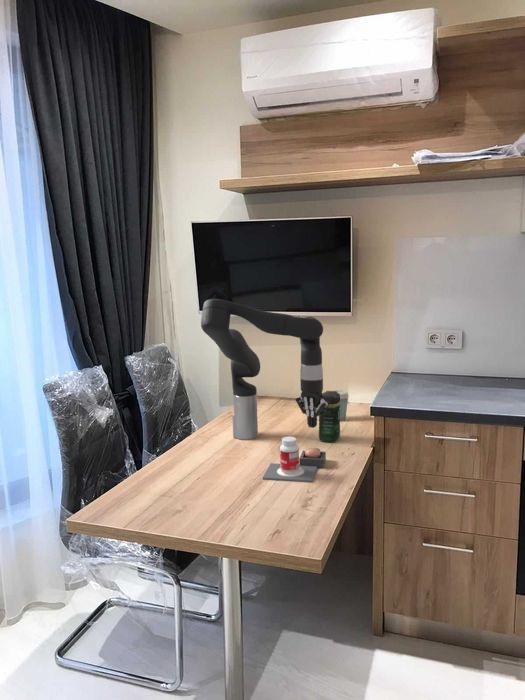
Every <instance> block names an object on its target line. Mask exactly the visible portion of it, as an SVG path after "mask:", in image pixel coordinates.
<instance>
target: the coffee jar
mask: <svg viewBox="0 0 525 700" xmlns="http://www.w3.org/2000/svg"><path fill="white" fill-rule="evenodd" d="M322 395H323V399H324V400H325V401H326V402H329V405H328V407H327V408H326V409H325V411H324V412H323V414H322V415H319V416H318V440H319V441H322V442H325V443H333V442H335V443H336V442H337V441H339V439H340V438H341V421H340V394H339V393H337V392H336V391H335V390H326V391H324V392H322ZM319 407H320V404H319Z"/></svg>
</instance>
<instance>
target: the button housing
mask: <svg viewBox="0 0 525 700" xmlns="http://www.w3.org/2000/svg"><path fill="white" fill-rule="evenodd" d="M326 458H327V452H326V451H322V450H320V457H318V458H308V457H306V456H305V450H302V452H301V454H300V455H299V465H304V466H317V469H324V466H325V463H326V460H327V459H326Z"/></svg>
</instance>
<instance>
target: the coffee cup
mask: <svg viewBox="0 0 525 700" xmlns="http://www.w3.org/2000/svg"><path fill="white" fill-rule="evenodd" d="M334 391H336V392H337V393H339V394H340V422H343V421H346V420H345V419H347V418H346V417H347V411H348V410H347V409H348V399H349V394H348V391H347V390H339V389H338V390H334Z"/></svg>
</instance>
